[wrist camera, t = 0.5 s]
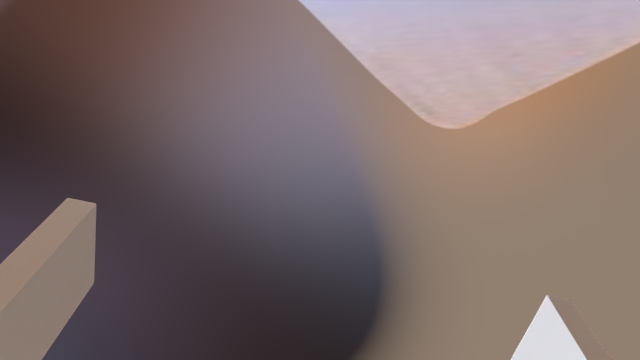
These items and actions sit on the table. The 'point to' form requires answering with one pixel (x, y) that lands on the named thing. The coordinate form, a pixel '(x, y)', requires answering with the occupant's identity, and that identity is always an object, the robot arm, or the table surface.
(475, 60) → the table surface
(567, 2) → the table surface
